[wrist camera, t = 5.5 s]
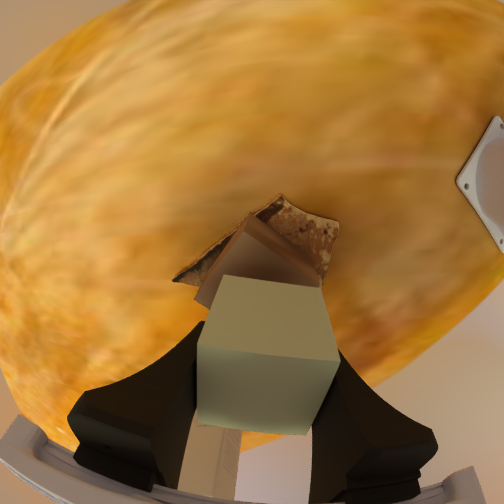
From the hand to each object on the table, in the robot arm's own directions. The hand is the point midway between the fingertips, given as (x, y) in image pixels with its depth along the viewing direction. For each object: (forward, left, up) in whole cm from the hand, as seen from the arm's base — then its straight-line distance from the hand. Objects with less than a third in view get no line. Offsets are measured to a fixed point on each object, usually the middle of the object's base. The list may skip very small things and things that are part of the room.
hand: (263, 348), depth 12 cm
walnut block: (+1, 0, -8) cm, 8 cm away
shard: (0, 0, -10) cm, 10 cm away
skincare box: (-5, +16, -9) cm, 19 cm away
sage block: (0, 0, -2) cm, 2 cm away
